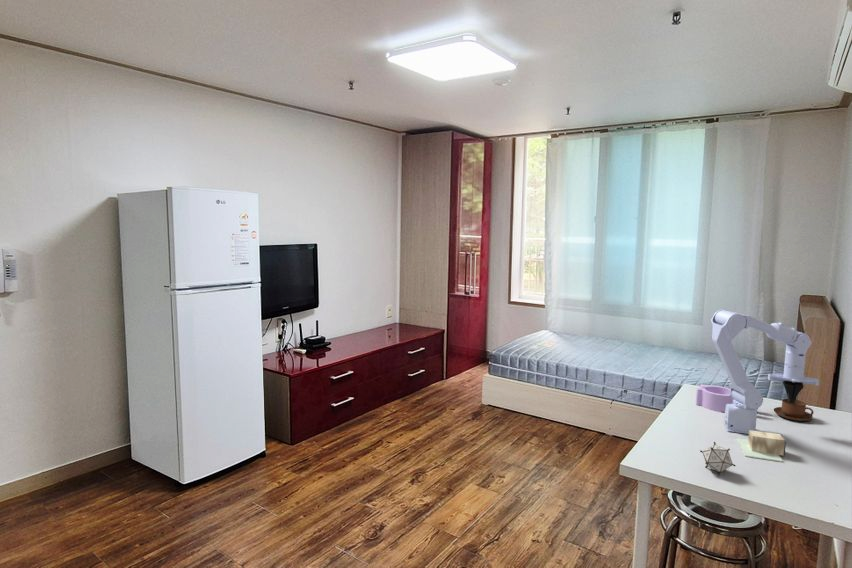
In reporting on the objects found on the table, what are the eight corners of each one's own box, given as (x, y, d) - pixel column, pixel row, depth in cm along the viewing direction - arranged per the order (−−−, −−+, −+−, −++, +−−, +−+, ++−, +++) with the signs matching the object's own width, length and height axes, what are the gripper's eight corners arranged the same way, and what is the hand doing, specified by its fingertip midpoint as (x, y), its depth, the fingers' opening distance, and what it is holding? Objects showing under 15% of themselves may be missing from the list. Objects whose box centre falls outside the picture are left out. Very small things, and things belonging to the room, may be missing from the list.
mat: (745, 456, 157) (745, 455, 157) (736, 439, 170) (736, 438, 170) (782, 462, 154) (782, 460, 154) (770, 443, 167) (770, 442, 167)
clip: (756, 410, 198) (758, 393, 197) (752, 419, 189) (753, 401, 188) (700, 398, 211) (701, 382, 210) (693, 406, 201) (694, 390, 201)
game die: (710, 479, 151) (704, 445, 155) (741, 478, 145) (734, 443, 150) (699, 473, 145) (694, 439, 150) (731, 472, 140) (724, 436, 145)
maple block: (784, 455, 157) (751, 450, 161) (780, 449, 162) (748, 444, 165) (786, 440, 157) (752, 436, 160) (781, 434, 161) (749, 430, 165)
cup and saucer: (809, 415, 193) (811, 400, 192) (814, 426, 182) (816, 410, 182) (771, 409, 199) (773, 394, 198) (775, 419, 188) (776, 403, 188)
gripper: (773, 365, 174) (769, 403, 176) (823, 370, 169) (819, 408, 171) (767, 360, 181) (764, 396, 182) (816, 364, 175) (812, 402, 177)
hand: (790, 402), depth 177 cm, fingers closed
